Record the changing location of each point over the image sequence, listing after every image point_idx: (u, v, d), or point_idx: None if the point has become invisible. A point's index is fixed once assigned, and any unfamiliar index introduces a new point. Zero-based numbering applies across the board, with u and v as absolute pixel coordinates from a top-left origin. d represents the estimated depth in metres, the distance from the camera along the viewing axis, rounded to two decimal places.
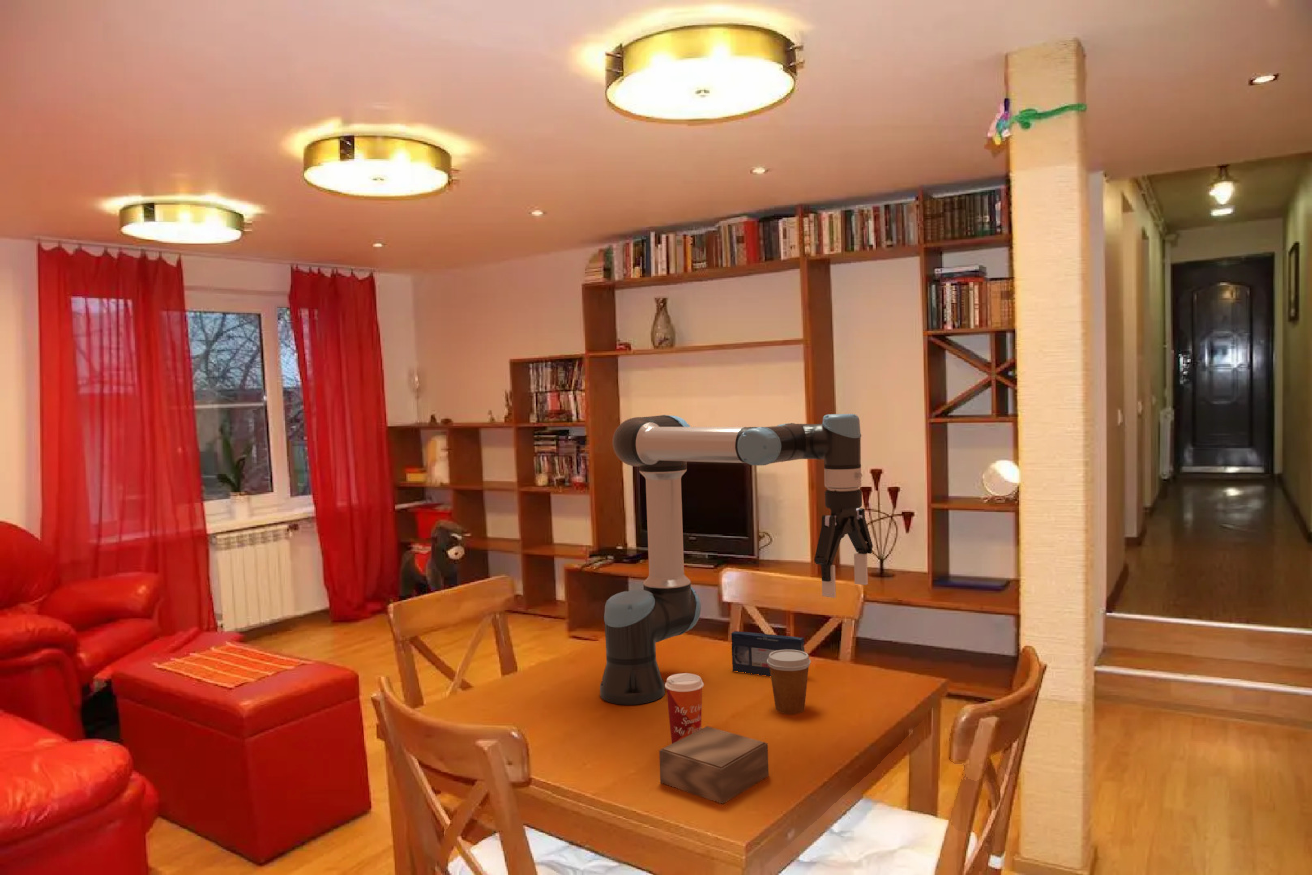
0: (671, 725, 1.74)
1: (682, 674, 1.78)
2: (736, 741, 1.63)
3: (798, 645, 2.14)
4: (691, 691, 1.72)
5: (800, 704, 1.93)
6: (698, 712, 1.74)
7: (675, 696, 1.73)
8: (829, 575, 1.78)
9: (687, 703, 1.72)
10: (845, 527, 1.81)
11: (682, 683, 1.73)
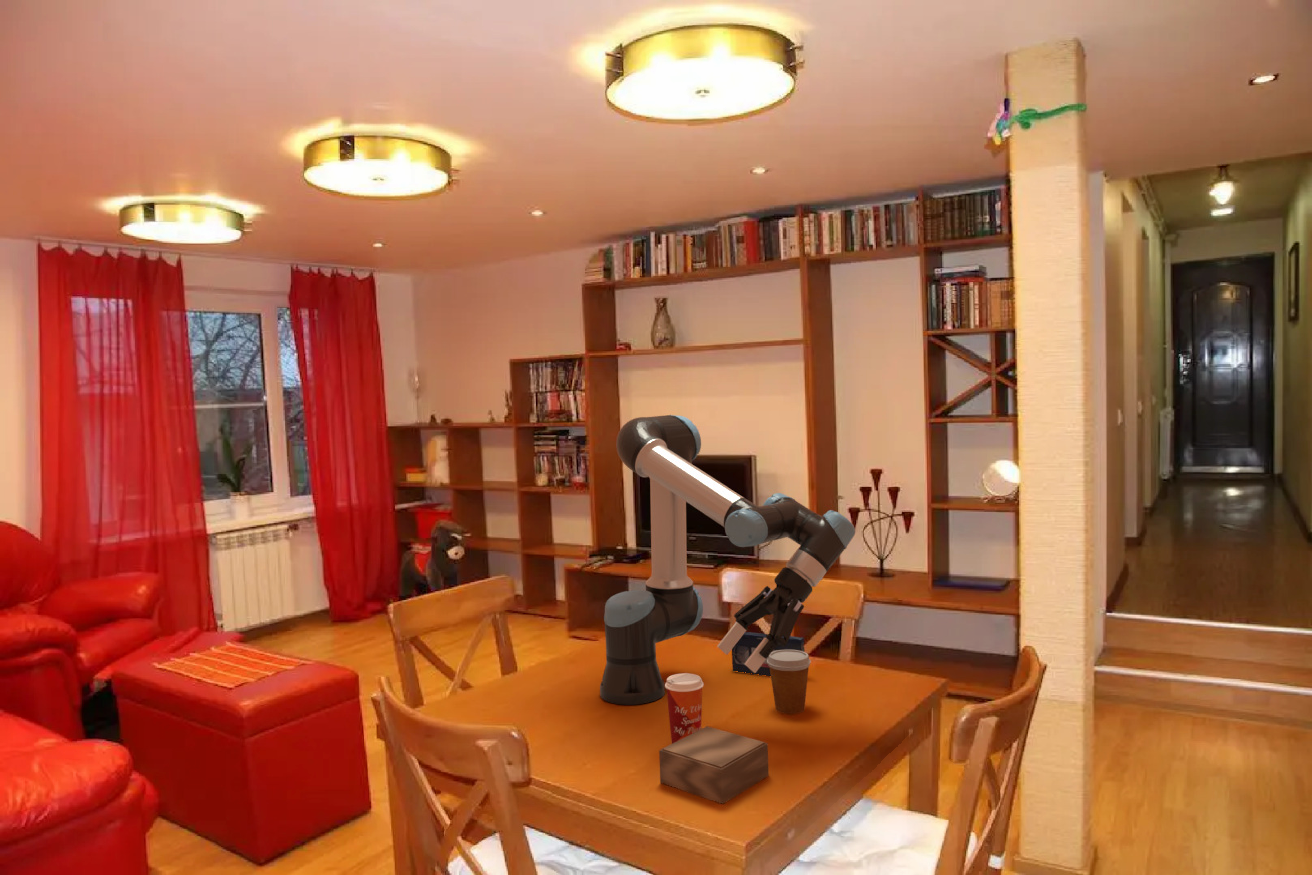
0: (671, 725, 1.74)
1: (682, 674, 1.78)
2: (736, 741, 1.63)
3: (798, 645, 2.14)
4: (691, 691, 1.72)
5: (800, 704, 1.93)
6: (698, 712, 1.74)
7: (675, 696, 1.73)
8: None
9: (687, 703, 1.72)
10: None
11: (682, 683, 1.73)
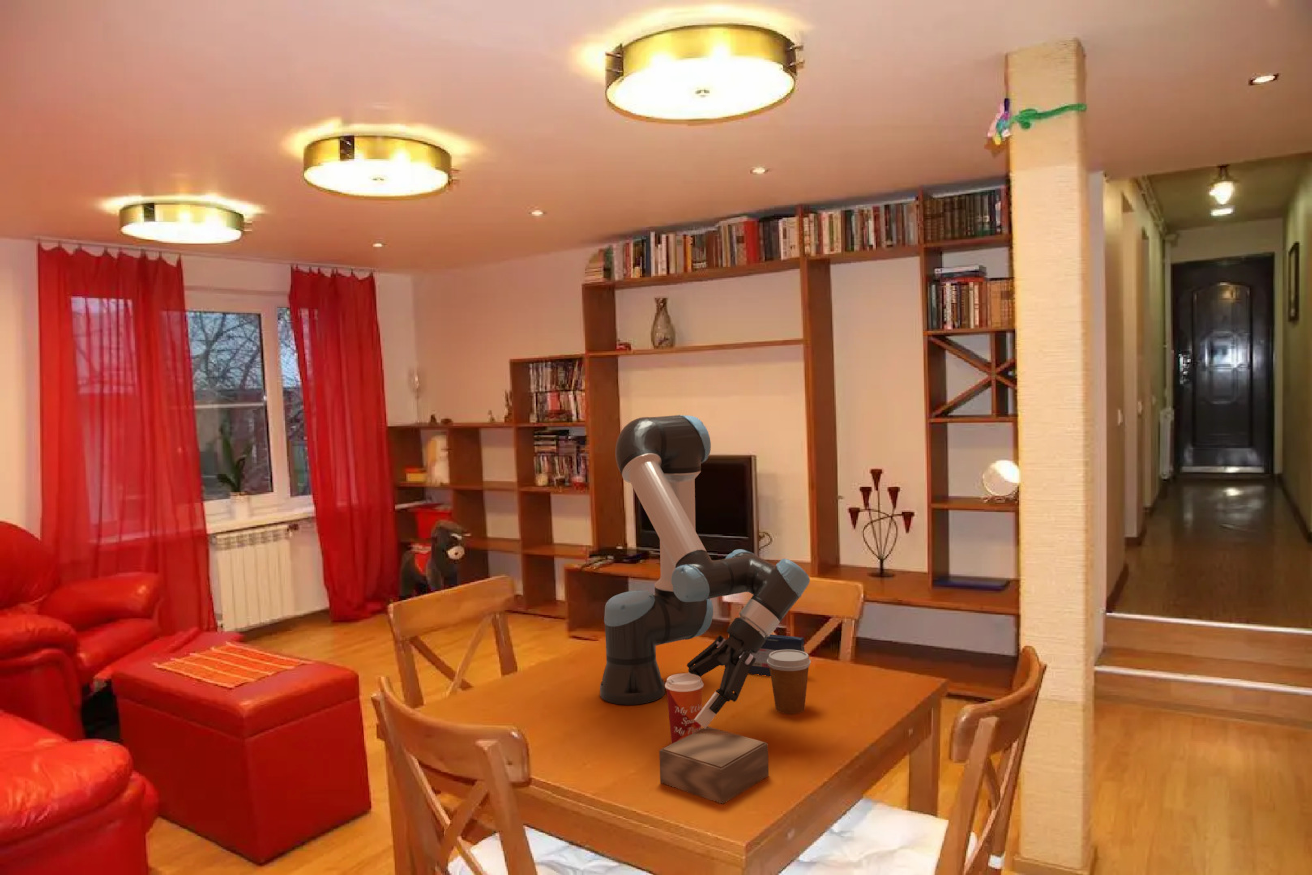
0: (671, 725, 1.74)
1: (682, 674, 1.78)
2: (736, 741, 1.63)
3: (798, 645, 2.14)
4: (691, 691, 1.72)
5: (800, 704, 1.93)
6: (698, 712, 1.74)
7: (675, 696, 1.73)
8: None
9: (687, 703, 1.72)
10: None
11: (682, 683, 1.73)
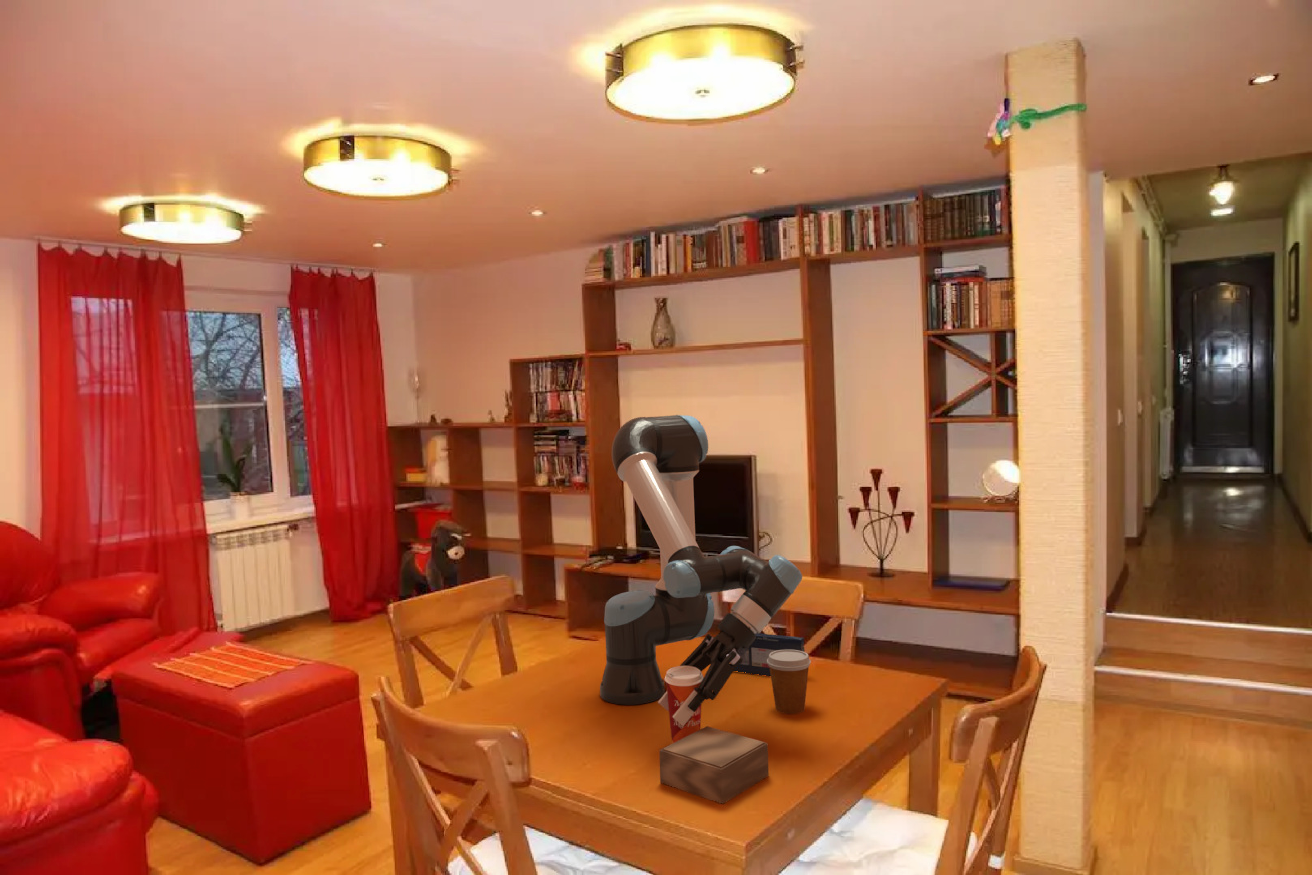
0: (671, 718, 1.74)
1: (682, 667, 1.77)
2: (736, 741, 1.63)
3: (798, 645, 2.14)
4: (691, 685, 1.72)
5: (800, 704, 1.93)
6: None
7: (675, 690, 1.72)
8: None
9: (687, 697, 1.72)
10: None
11: (682, 677, 1.72)
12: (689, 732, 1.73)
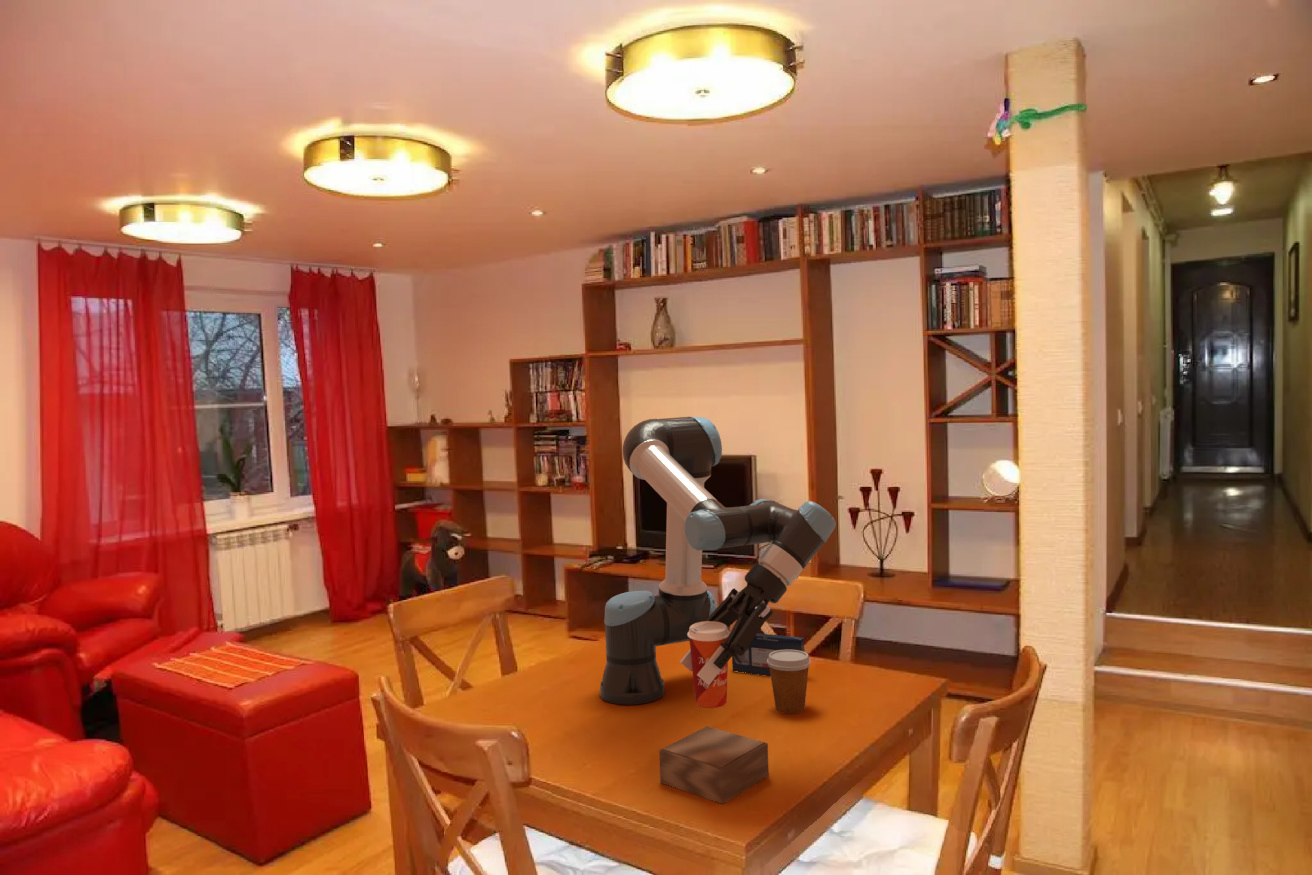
0: (694, 677, 1.59)
1: (706, 622, 1.62)
2: (736, 741, 1.63)
3: (798, 645, 2.14)
4: (717, 640, 1.57)
5: (800, 704, 1.93)
6: None
7: (699, 646, 1.57)
8: None
9: (712, 653, 1.57)
10: None
11: (707, 632, 1.57)
12: (715, 692, 1.58)
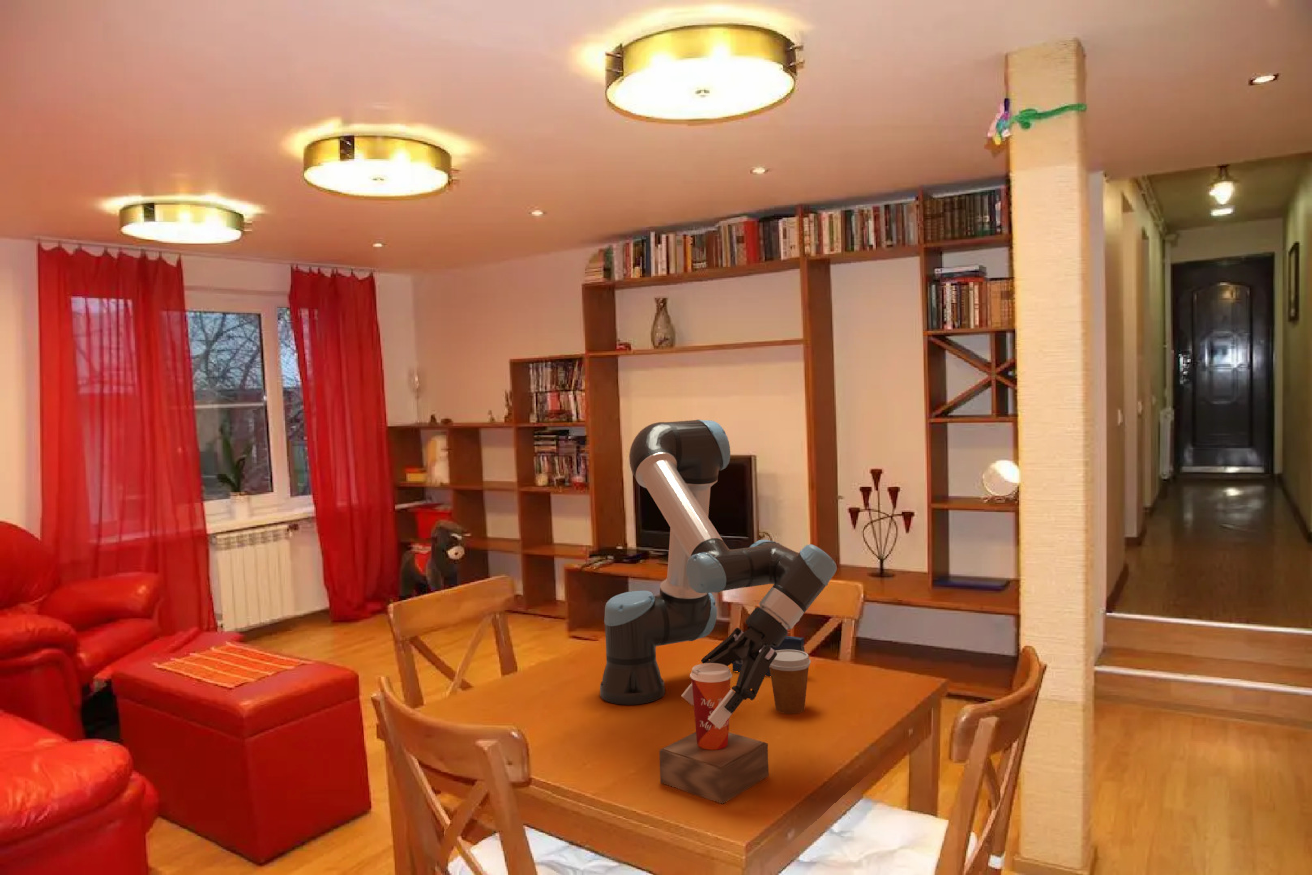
0: (696, 719, 1.60)
1: (708, 664, 1.64)
2: (736, 741, 1.63)
3: (798, 645, 2.14)
4: (719, 682, 1.58)
5: (800, 704, 1.93)
6: None
7: (701, 687, 1.58)
8: None
9: (715, 695, 1.58)
10: None
11: (709, 673, 1.58)
12: (716, 735, 1.59)
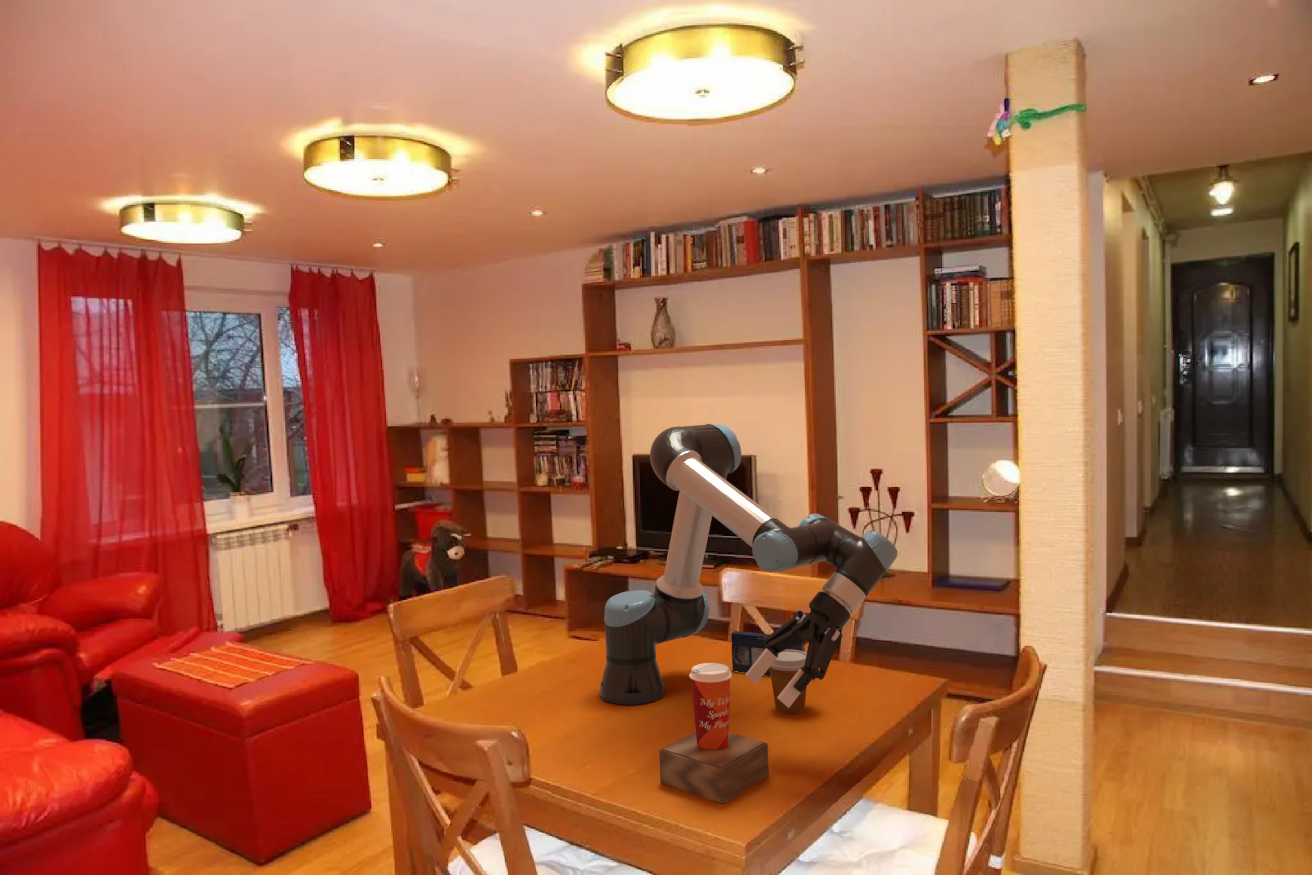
0: (696, 719, 1.60)
1: (708, 664, 1.64)
2: (736, 741, 1.63)
3: (798, 645, 2.14)
4: (719, 682, 1.58)
5: (800, 704, 1.93)
6: (725, 705, 1.59)
7: (701, 687, 1.58)
8: None
9: (714, 695, 1.58)
10: None
11: (709, 673, 1.58)
12: (716, 734, 1.59)
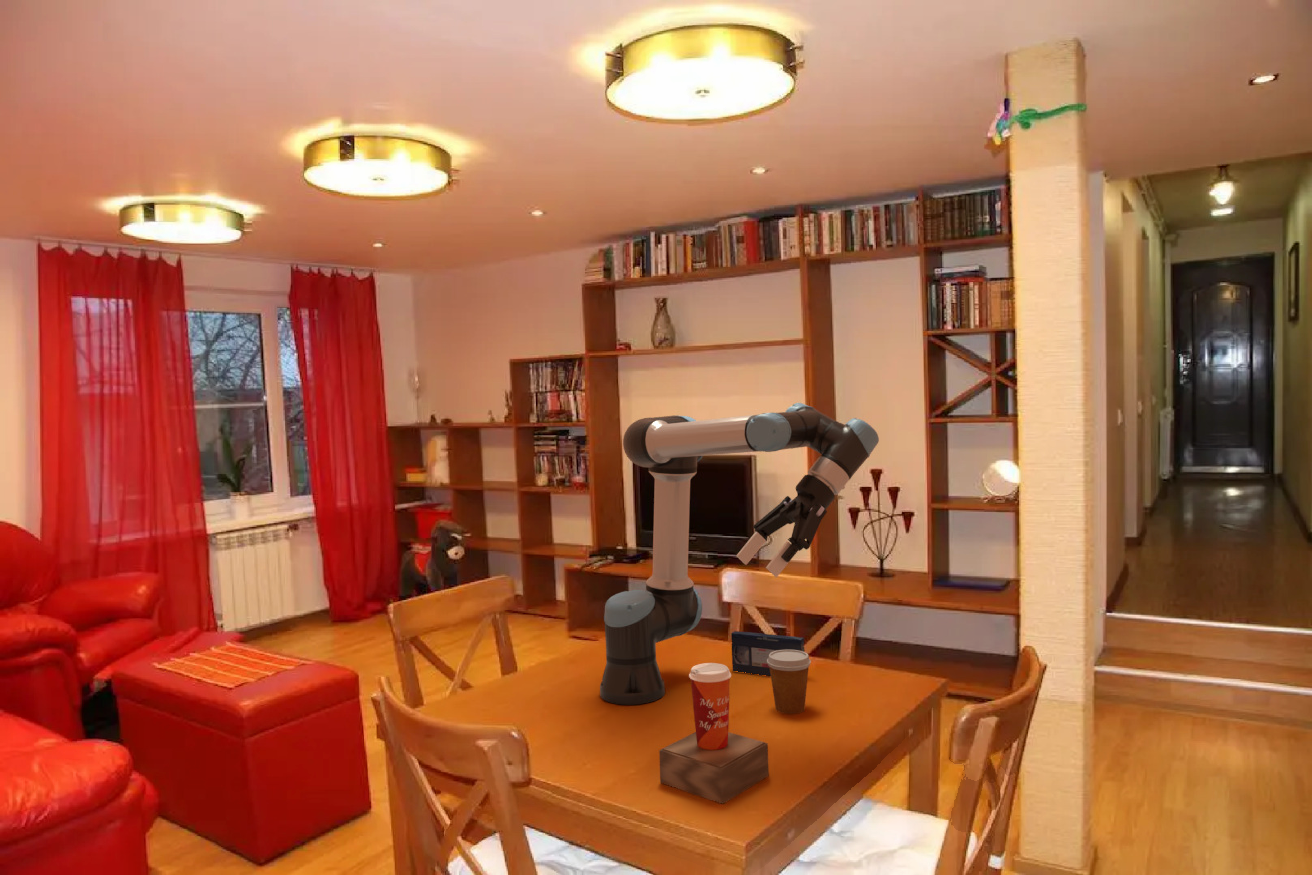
0: (696, 719, 1.60)
1: (708, 664, 1.64)
2: (736, 741, 1.63)
3: (798, 645, 2.14)
4: (718, 682, 1.58)
5: (800, 704, 1.93)
6: (725, 705, 1.59)
7: (700, 687, 1.58)
8: None
9: (714, 695, 1.58)
10: None
11: (708, 673, 1.58)
12: (716, 734, 1.59)
